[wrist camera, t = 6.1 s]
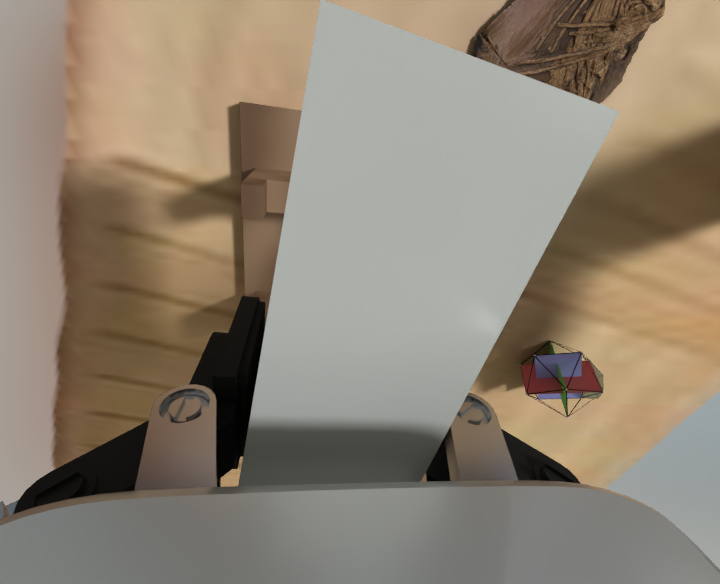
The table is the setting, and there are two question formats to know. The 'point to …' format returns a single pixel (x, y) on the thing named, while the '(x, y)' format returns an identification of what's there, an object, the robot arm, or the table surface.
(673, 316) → the table surface
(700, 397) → the table surface
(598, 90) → the wooden fragment
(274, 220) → the wooden display stand
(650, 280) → the table surface
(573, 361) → the geometric puzzle
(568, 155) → the clay bar
